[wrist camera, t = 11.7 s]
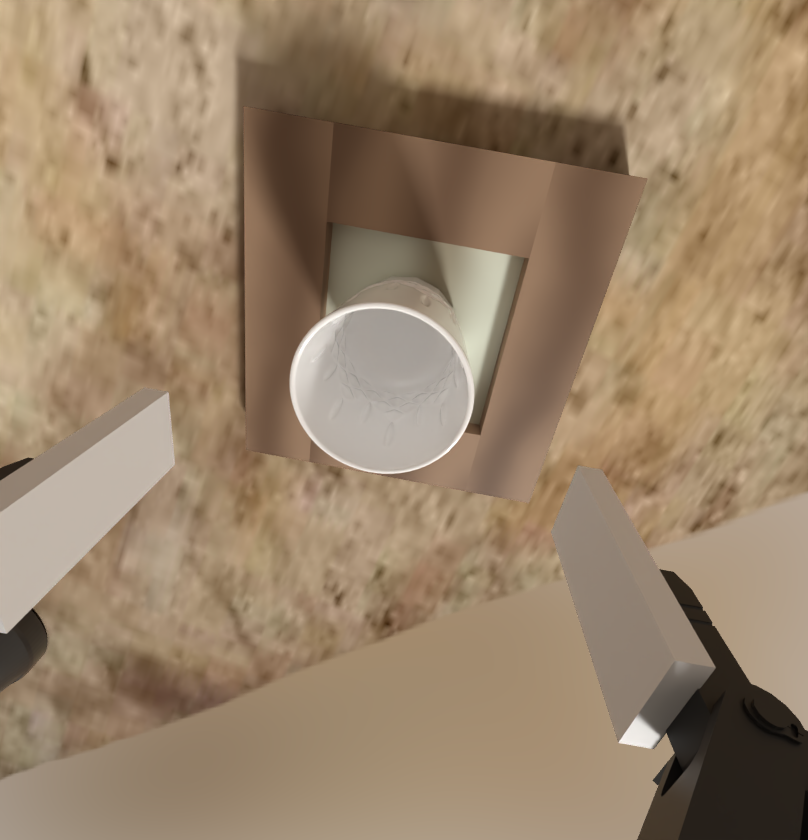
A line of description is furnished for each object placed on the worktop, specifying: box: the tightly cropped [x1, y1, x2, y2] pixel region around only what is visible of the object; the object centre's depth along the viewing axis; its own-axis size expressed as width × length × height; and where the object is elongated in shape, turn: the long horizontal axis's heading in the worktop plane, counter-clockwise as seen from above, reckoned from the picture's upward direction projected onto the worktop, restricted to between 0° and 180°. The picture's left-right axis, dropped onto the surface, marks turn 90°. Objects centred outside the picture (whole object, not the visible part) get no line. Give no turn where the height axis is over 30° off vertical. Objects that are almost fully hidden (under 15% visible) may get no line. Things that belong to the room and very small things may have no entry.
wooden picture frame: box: [243, 106, 647, 503], centre depth 27 cm, size 20×20×2 cm
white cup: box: [289, 276, 474, 474], centre depth 23 cm, size 8×8×10 cm
